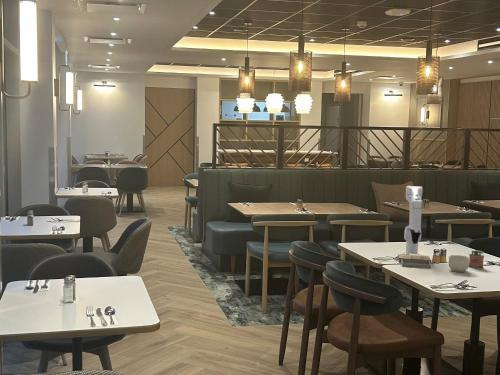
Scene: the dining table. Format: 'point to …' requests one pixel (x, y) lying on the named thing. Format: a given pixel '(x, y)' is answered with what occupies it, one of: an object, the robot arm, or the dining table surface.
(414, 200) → the robot arm
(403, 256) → the board
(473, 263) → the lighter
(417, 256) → the tile
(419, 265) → the tray
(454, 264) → the teacup
